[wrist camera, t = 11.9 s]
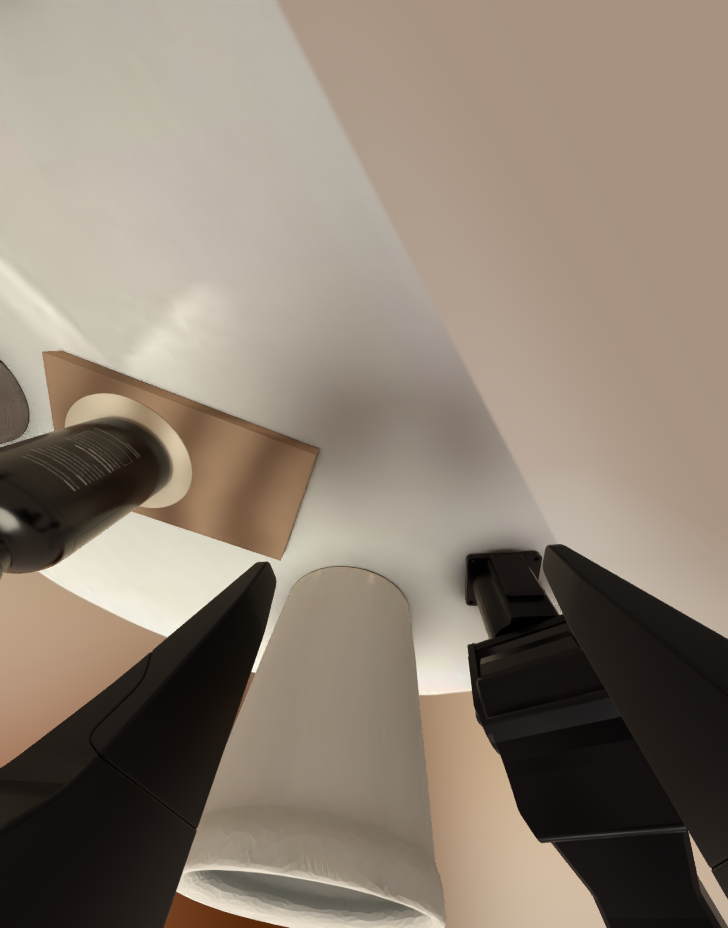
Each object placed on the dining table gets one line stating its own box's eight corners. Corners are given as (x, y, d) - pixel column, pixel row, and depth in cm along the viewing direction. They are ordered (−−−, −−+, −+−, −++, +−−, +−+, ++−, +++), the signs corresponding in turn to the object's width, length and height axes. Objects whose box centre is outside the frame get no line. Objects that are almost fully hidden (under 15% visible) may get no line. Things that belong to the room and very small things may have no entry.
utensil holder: (254, 597, 30) (111, 885, 14) (354, 536, 25) (304, 870, 9) (340, 661, 34) (303, 937, 19) (440, 620, 30) (503, 945, 14)
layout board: (319, 449, 21) (315, 456, 20) (284, 551, 27) (279, 561, 25) (61, 350, 19) (39, 351, 18) (77, 481, 25) (61, 489, 23)
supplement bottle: (69, 424, 21) (-280, 521, 10) (144, 407, 19) (-152, 496, 9) (121, 498, 23) (-104, 637, 13) (189, 487, 22) (7, 628, 12)
